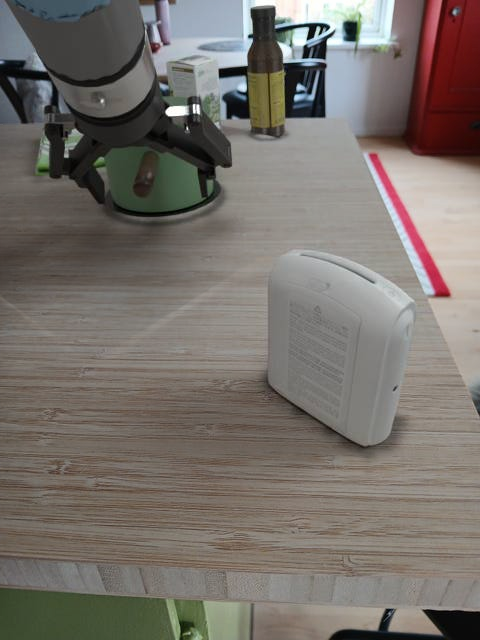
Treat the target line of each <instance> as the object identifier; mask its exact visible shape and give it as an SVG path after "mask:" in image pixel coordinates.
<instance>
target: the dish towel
mask: <svg viewBox="0 0 480 640" xmlns="http://www.w3.org/2000/svg"><path fill="white" fill-rule="evenodd" d="M82 137H83V134H81V133H80V132H78V131H77V130H76V129H73V130H72V133H71V134H70V135H68V141H65V153H64V157H65V158H68V148H69V149H70V150H71V149H74V147H75V146H76V145H77V143H78V142H79V141H80V139H81V138H82ZM49 143H50V142H49V140H48V139H47V137H46V136H45V134H44V127H43V128H42V135H41V138H40V141H39V150H38V152H37V159H36V164H35V171H34V176H35V177H36V176H46V175H49ZM93 165H94V166H95V168H96V169H103V168H106V166H105V161H104V158H103V157H100V158H99V159H98V160H97V161H96V162H95V163H94V164H93Z"/></svg>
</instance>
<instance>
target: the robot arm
mask: <svg viewBox="0 0 480 640" xmlns="http://www.w3.org/2000/svg"><path fill="white" fill-rule="evenodd" d="M4 1H5V3H6V5H7V6H8V8H9V10H10V12H11V13H12V15H13V17H14V18H15V20H16V21H17V23H18V24H19V26H20V27H21V29H22V31H23V32H24V34H25V36H26V37H27V39H28V40H29V42H30V43H31V45H32V47H33V49H34V50H35V52H36V55H37V56H38V58H39V60H40V62H41V63H42V65H43V67H44V69H45V70H46V72H47V74H48V76H49V78H50V79H51V81H52V83H53V84H54V86H55V88H56V90H57V91H58V93H59V95H60V96H61V97H62V99H63V101H64V104H65V106H66V107H67V109H68V111H69V112H66V113H65V112H63V113H62V112H61V111H60V109H59V107H57V106H56V105H53V104H47V105H45V106H44V107H43V128H44V134H45V136H46V137H47V139H48V140H49V142H50V143H49V174H48V176H49V178H50V179H51V180H52V179H53V180H60V179H62V177H63V176H67V177H68V178H69V180H71V181H74V183H75V185H77V187H79V188H80V189H86V190H88V192H89V193H90V195H91V197H93V199H94V201H96V203H97V204H98V205H99V206H100V205H106V202H105V196H106V192H105V191H106V190H105V189H106V188H105V187H106V185H105V181H104V179H103V178H102V176H101V174H100V173H99V171H98V170H97V168H95V166H94V165H93V164H94V163H95V162H96V161H97V160H98V159H99V158H100V157H103V158H104V157H105V156H106V155H107V154H108V152H109V151H110V150H111V149H112V148H126V147H131V146H133V147H149V148H151V149H153V150H155V151H157V152H159V153H161V154H163V153H165V152H168V153H170V154H172V155H174V156H176V157H178V158H180V159H182V160H184V161H186V162H188V163H190V164H192V165H194V166H196V167H197V173H198V180H199V185H200V191H201V197H202V198H208V188H207V180H217V169H216V168H217V167H220V168H222V169H229V168H232V167H233V156H232V155H233V154H232V142H231V141H230V140H229V139H228V138H227V137H226V135H225V134H224V133H223V132H222V130H221V131H220V130H219V129H218V127H217V126H216V125H215V124H214V123H213V122H212V120H211V119H210V118H209V117H208V116H207V115H206V113H205V112H204V111H203V110H202V104H201V99H200V98H199V97H197V96H190V97H188V99H187V105H185V106H172V107H171V106H170V104H169V103H168V102H166V101H165V100H164V99H163V97H164V96H163V93H162V88H161V85H160V80H159V77H158V74H157V69H156V65H155V60H154V56H153V51H152V48H151V44H150V40H149V37H148V32H147V29H146V26H145V23H144V22H145V21H144V17H143V13H142V9H141V5H140V1H139V0H4ZM173 122H177V123H179V124H180V125H181V126H182V127H184V129H183V128H181V127H179V126H178V125H176V124H174V123H173ZM73 129H76V130H77V131H78V132H80V133H81V134H83V137H82V138H81V139H80V141H79V142H78V143H77V145H76V146H75V147H74V149H71V150H70V149H69V148H68V158H65V157H64V153H65V141H68V135H70V134H71V133H72V130H73Z"/></svg>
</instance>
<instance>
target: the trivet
mask: <svg viewBox="0 0 480 640" xmlns="http://www.w3.org/2000/svg"><path fill="white" fill-rule="evenodd" d="M218 181H219V180H217V179H215V180H213V186H214V188H213V191H212V193H211V195H210V196H209V197H208V198H206V199H205V200H203V201H201V202H200V203H197V204H195V205H193V206H190V207H187V208H183V209H179V210H174V211H167V212H137V211H132V210H127V209H124V208H122V207H120V206H118V205H117V204H115V202H114V201H113V199H112V195H111V190H110V189H109V190H107V192H106V193H105V205H106V206H107V207H108V208H109V209H111V210H112V211H115V212H116V213H120V214H122V215H125V216H130V217H131V216H132V217H137V218H161V217H163V218H164V217H172V216H177V215H183V214H186V213H190V212H193V211H197V210H199V209H201V208H203V207H206V206H207V205H209V204H211V203H212V202H214V201H215V200H216V199H217V198H218V197H219V195H220V194H221V191H222V188H221V187H222V186H221V185H220V183H219V182H218Z"/></svg>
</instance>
